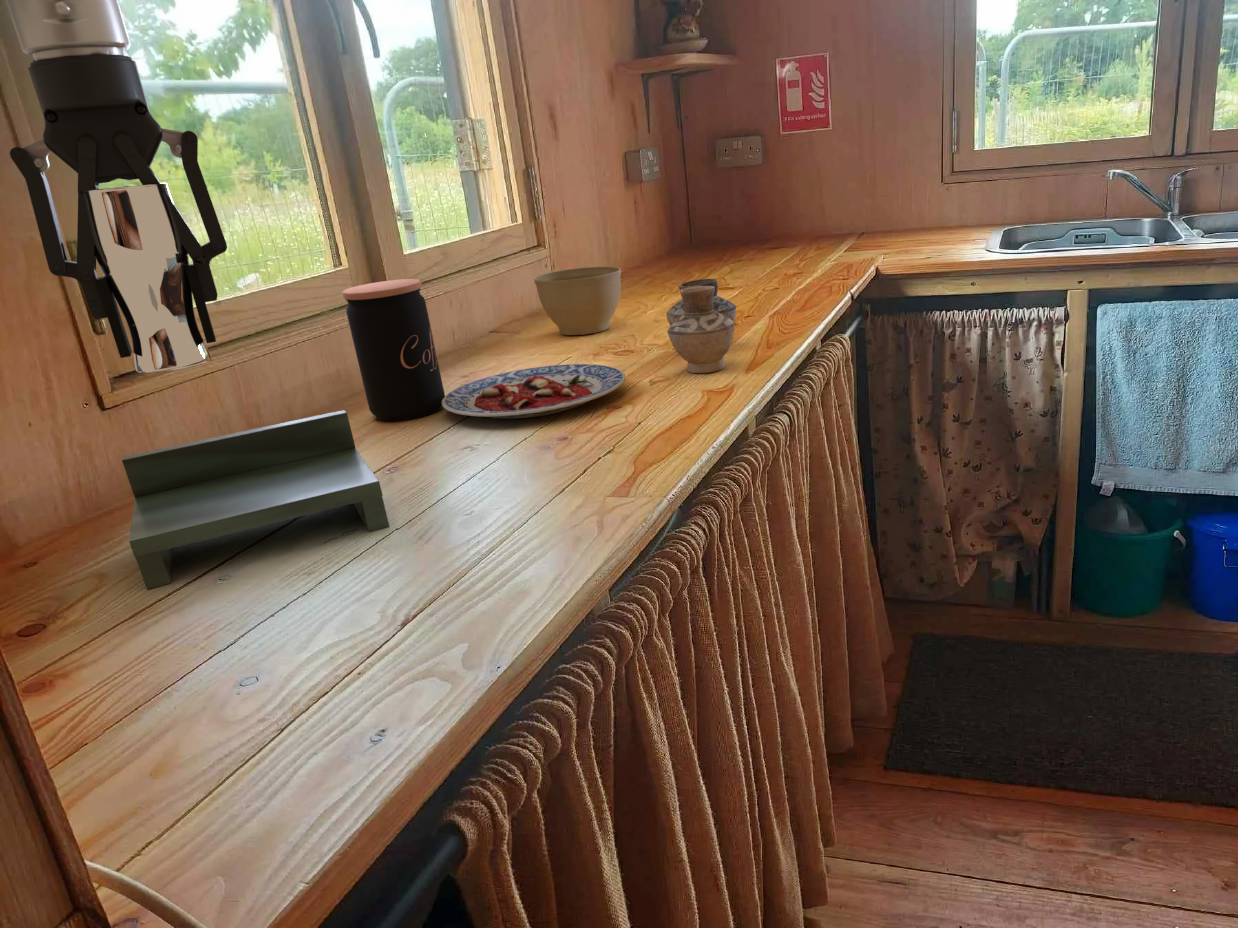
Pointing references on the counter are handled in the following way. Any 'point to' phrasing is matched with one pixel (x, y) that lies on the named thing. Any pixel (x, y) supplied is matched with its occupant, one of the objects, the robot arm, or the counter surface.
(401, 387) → the coffee jar
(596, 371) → the ceramic plate
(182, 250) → the beer glass
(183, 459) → the shelf
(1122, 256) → the counter surface
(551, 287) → the planter bowl
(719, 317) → the pottery
